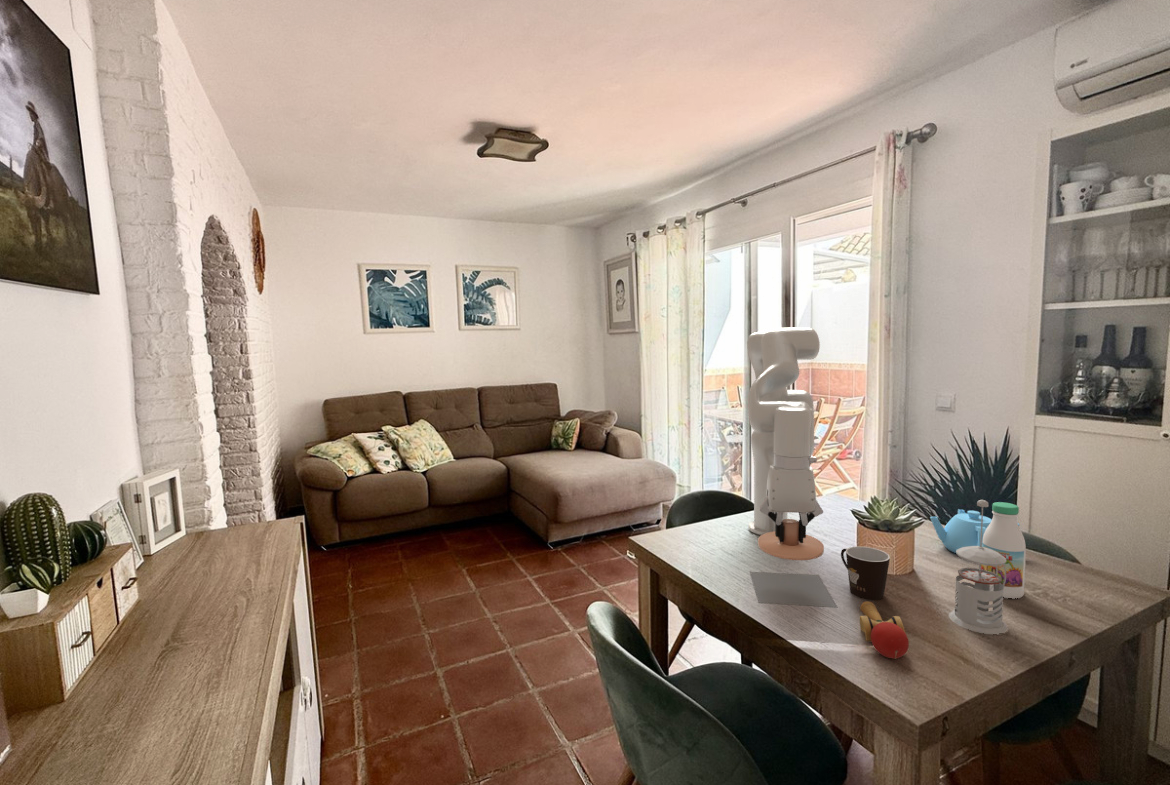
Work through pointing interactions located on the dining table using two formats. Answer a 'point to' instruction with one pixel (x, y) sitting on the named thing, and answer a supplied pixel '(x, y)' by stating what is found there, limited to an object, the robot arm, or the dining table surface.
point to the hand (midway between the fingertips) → (790, 539)
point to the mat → (791, 589)
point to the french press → (979, 590)
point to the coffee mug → (866, 571)
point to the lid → (791, 543)
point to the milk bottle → (1007, 548)
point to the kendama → (883, 632)
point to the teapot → (962, 530)
